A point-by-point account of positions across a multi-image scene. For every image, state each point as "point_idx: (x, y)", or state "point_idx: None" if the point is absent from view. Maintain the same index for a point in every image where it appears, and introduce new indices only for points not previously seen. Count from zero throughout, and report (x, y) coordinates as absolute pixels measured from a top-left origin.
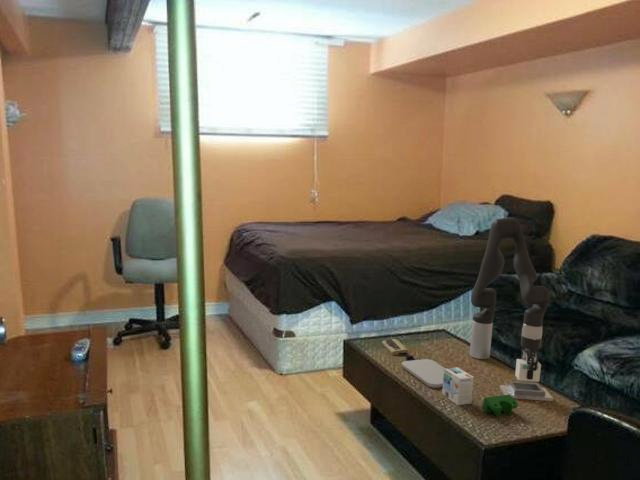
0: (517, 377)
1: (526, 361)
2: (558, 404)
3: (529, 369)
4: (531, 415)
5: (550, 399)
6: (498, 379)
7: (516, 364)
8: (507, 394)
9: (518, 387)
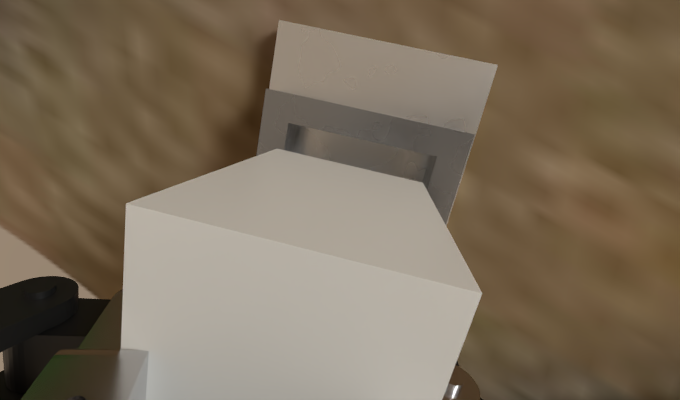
0: (325, 162)
1: (89, 385)
2: None
3: (51, 285)
4: (30, 77)
5: None
6: (667, 147)
7: (430, 228)
8: (289, 33)
9: None
